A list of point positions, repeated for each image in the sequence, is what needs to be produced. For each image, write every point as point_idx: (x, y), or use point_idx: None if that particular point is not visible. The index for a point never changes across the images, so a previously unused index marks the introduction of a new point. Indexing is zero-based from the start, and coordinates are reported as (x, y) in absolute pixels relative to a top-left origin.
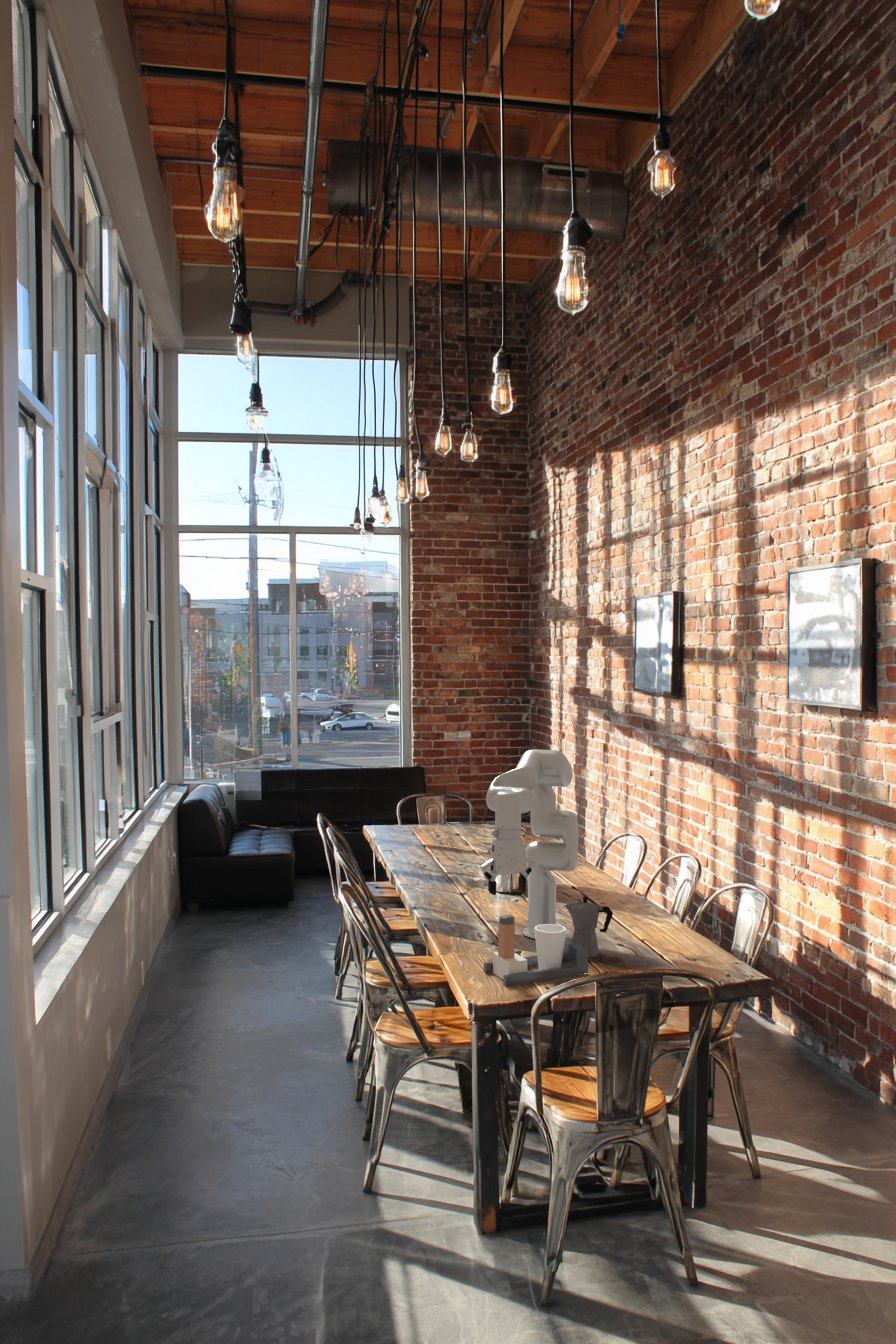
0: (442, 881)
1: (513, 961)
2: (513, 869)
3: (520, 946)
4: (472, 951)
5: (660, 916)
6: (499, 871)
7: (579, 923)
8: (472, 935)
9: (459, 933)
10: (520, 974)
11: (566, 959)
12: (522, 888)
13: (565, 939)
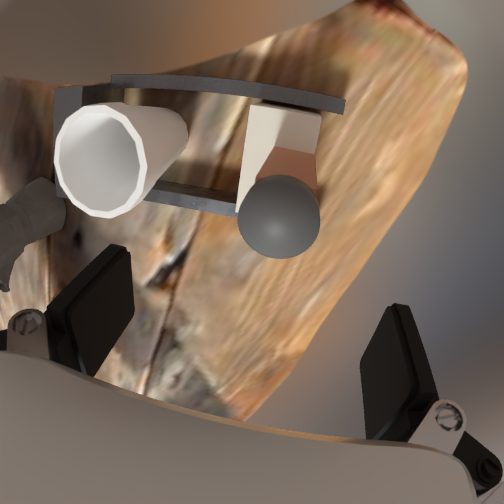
0: None
1: (302, 117)
2: (166, 470)
3: (134, 305)
4: (240, 337)
5: None
6: (454, 483)
7: (11, 225)
8: (187, 386)
9: (203, 401)
10: (294, 90)
11: None
12: (120, 271)
13: None
